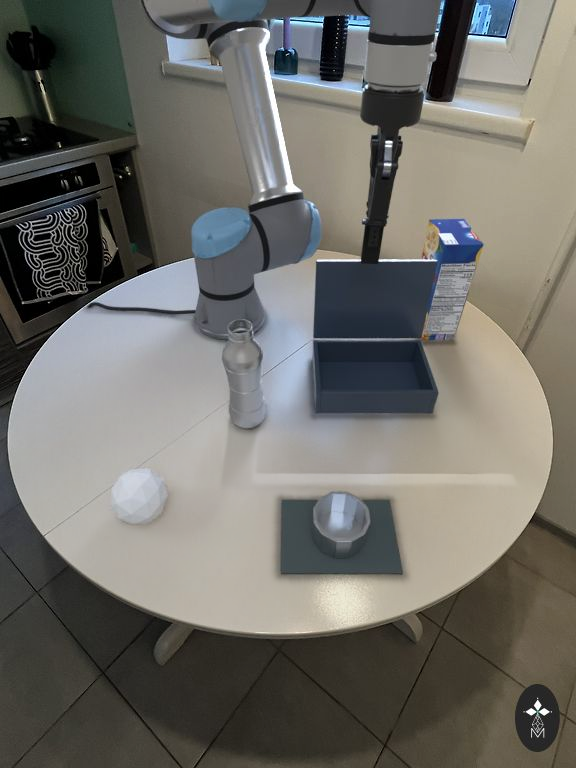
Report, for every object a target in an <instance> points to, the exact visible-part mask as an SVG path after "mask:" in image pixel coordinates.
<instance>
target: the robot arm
mask: <svg viewBox="0 0 576 768" xmlns="http://www.w3.org/2000/svg"><path fill="white" fill-rule="evenodd" d="M442 1H443V0H137V2H138V5H139V8H140V11H141V13H142V14H143V16H144V18H145V19H146V20H147V22H148V23H149V24H150V26H152V28H154V29H155V30H157V31H158V32H160V33H161V34H164V35H165V36H168V37H171V38H175V39H181V40H206V43H207V47H208V51H209V54H210V56H211V57H212V58H214V59H216V60H217V61H218V62H220V66H221V70H222V74H223V77H224V79H223V80H224V83H225V86H226V91H227V96H228V100H229V104H230V107H231V113H232V116H233V119H234V124H235V128H236V132H237V136H238V140H239V144H240V149H241V153H242V156H243V161H244V165H245V169H246V173H247V177H248V181H249V186H250V190H251V193H252V194H251V198H250V200H249V201H248V204H247V208H248V211H247V210H245V209H244V208H241V207H239V206H238V207H236V206H231V207H227V206H224V207H218V208H214V209H212V210H209V211H207V212H205V213H204V214H202V215H200V216H199V217H198V218H197V219H196V220H195V222H194V223H193V224H192V226H191V230H190V234H191V252H192V254H193V258H194V264H195V272H196V277H197V284H198V288H199V289H198V291H199V293H198V298H197V302H196V307H195V309H185V310H184V309H183V310H169V309H159V308H153V307H151V308H150V307H138V306H135V307H134V306H110V305H106V304H104V303H101V302H97V301H93V302H90V303H89V304H88V305H87V308H88V309H90V308H93V307H99V308H102V309H104V310H108V311H119V312H147V313H157V314H167V315H194V317H195V318H194V319H195V324H196V327H197V329H198V331H200V332H201V333H202V334H203V335H205V336H206V337H208V338H212V339H215V340H223V341H224V340H225V341H229V339H228V325H229V324H230V323H231V322H232V321H234V320H238V319H245V320H248V321H250V322H251V323H252V327H253V333H254V334H255V333H257V332H258V331H259V330H260V329H261V328H262V327H263V325H264V324H265V323H264V322H265V309H264V306H263V303H262V301H261V299H260V296H259V294H258V292H257V290H256V286H255V275H257V274H260V273H265V272H268V271H271V270H275V269H279V268H282V267H285V266H290V265H297V264H300V262H302V261H305V260H308V259H311V258H312V257H313V256H314V255H315V254H316V253H317V251H318V249H319V246H320V244H321V240H322V221H321V216H320V213H319V211H318V209H316V207H317V206H316V205H315V204H314V203H313V201H308V200H305V197H304V196H305V195H304V192H303V190H302V189H300V188H299V187H297V186H296V185H295V183H294V179H293V176H292V171H291V166H290V162H289V157H288V154H287V148H286V143H285V139H284V138H285V137H284V135H283V129H282V124H281V120H280V116H279V115H280V114H279V109H278V106H277V101H276V95H275V92H274V88H273V83H272V79H271V73H270V69H269V64H268V60H267V55H266V54H267V53H266V48H267V45H268V43H269V42H270V40H271V39H270V38H271V35H270V32H271V31H272V29H273V27H274V25H275V20H279V19H292V18H297V19H300V18H317V17H334V16H355V17H364V18H366V17H367V18H369V30H368V33H367V34H368V35H367V41H366V49H365V59H364V60H365V62H364V69H363V81H365V82H366V83H367V84H366V85H364V87H363V88H362V95H361V103H360V104H361V105H360V112H359V116H360V119H361V121H362V122H363V123H365V124H366V125H369V126H372V127H375V126H376V127H377V129H376V130H377V131H376V133H371V135H370V141H369V142H370V143H369V146H370V159H369V175H370V177H369V184H368V185H369V186H368V194H367V201H366V203H365V204H366V208H367V210H366V212H365V215H366V218H365V217H364V218H362V219H361V225H362V226H363V225H364V230H363V237H362V238H363V239H362V246H361V254H360V260H361V263H363V264H378V262H379V260H380V255H381V249H382V243H383V236H384V229H385V227H386V226H387V224H388V219H389V217H390V213H389V209H390V205H391V200H392V196H393V190H394V184H395V179H396V176H397V171H398V170H399V159H400V157H401V156H402V152H403V147H404V146H403V145H404V140H402V135H401V134H400V130H401V129H404V128H410V127H413V126H415V125H417V124H419V122H420V120H421V116H422V110H423V105H424V99H425V96H426V95H425V94H426V91H425V89H424V87H422V86H423V85H424V84H425V83H426V82H427V81H428V77H429V71H430V66H429V63H434V62H436V60H437V56H438V55H437V52H436V51H433V47H434V42H435V38H436V33H437V27H438V21H439V18H440V17H439V16H440V11H441V7H442V6H441V5H442Z"/></svg>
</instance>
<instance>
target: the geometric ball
mask: <svg viewBox="0 0 576 768" xmlns="http://www.w3.org/2000/svg"><path fill="white" fill-rule="evenodd" d="M168 497H169V492H168V486H167V484H166V482H165V480H164V478H163V477H162V476H161V475H159V474H158V473H157V472H155V471H154V470H152V469H151V468H149V467H145V468H144V467H143V468H142V467H141V468H130V469H128V470H127V471H125V472H124V473H123V474H122V475H120V476H119V477H118V478H117V479H116V480H115V482H114V484H113V485H112V487H111V489H110V501H109V507H110V508H111V510H112V511H113V512H114V513H115V515H116V516H117V518H118V519H119V520H120V521H123V522H125V523H127V524H129V525H148V524H150V522H152V521H153V520H154V519H156V518H157V517H159V516H160V515H161V514H163V511H164V509H165V507H166V503H167V500H168Z"/></svg>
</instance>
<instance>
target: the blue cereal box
mask: <svg viewBox="0 0 576 768" xmlns="http://www.w3.org/2000/svg"><path fill="white" fill-rule="evenodd" d="M484 246H485V244H484V243H483V241H482V240H481V238H480V237H479V236H478V234H477V233H476V232H475V231H474V230H473V228H472V227H471V226H470V224H469V223H468V222H467V220H466V219H465V218H436V219H435V218H433V219H432V218H431V219H430V218H429V219H428V223H427V227H426V233H425V238H424V242H423V247H422V251H421V257H420V260H437V261H438V264H437V268H436V273H435V278H434V282H433V287H432V292H431V296H430V301H429V306H428V310H427V315H426V320H425V324H424V329H423V334H422V338H420V340H421V342H422V341H455V337H456V334H457V332H458V328H459V324H460V321H461V318H462V315H463V313H464V312H463V311H464V309H465V305H466V303H467V299H468V296H469V292H470V289H471V286H472V283H473V280H474V277H475V273H476V271H477V268H478V263H479V261H480V258H481V255H482V251H483V248H484Z"/></svg>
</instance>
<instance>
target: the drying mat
mask: <svg viewBox="0 0 576 768" xmlns="http://www.w3.org/2000/svg"><path fill="white" fill-rule="evenodd" d="M318 500H319V499H281V516H280V517H281V519H280V533H281V534H280V575H403V574H404V570H403V565H402V559H401V554H400V548H399V543H398V539H397V537H398V536H397V532H396V526H395V522H394V517H393V511H392V506H391V501H390V499H361V500H362V501H363V502H364V504H365V505H366V506H367V508H368V509H369V515H370V526H369V531H368V535H367V539H366V541H365V543H364V546H363V548H362V550H361V551H360V552H358V553H357V554H355V555H353V556H352V557H350V558H349V557H348V558H332V557H331V556H328V555H327V554H325V553H323V552H321V551H320V550H319V548H318V547H317V545H316V544H315V542H314V541H313V538H312V519H313V508H314V507H315V505H316V503H317V502H318Z"/></svg>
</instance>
